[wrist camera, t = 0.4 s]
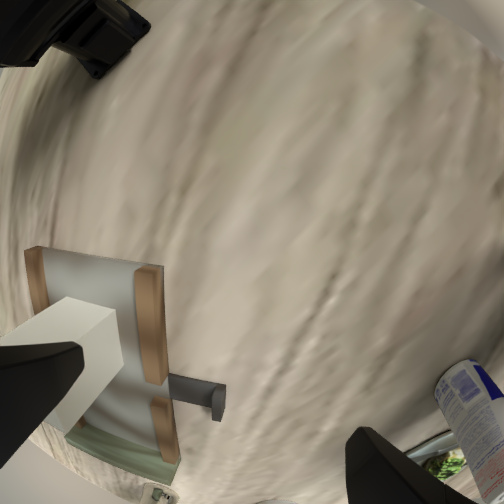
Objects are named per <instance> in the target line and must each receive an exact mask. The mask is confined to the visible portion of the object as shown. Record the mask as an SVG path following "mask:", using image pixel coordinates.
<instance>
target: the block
mask: <svg viewBox="0 0 504 504" xmlns="http://www.w3.org/2000/svg"><path fill="white" fill-rule="evenodd" d="M67 341H74V342H76V343H77V344H79V345H81V346H82V348H83V353H84V361H85V367H84V370H83V372H82V373H81V375H80V376H79V377H78V379H77V380H76V382H75V383H74V384H73V386H72V387H71V389H70V390H69V391H68V393H67V394H66V396H65V397H64V398H63V399H62V400H61V402H60V403H59V404H58V405H57V406H56V407H55V408H54V409H53V410H52V411H51V413H50V414H49V415H48V416H47V417H46V418H45V419H44V420H43V421H45V422H47V423H48V424H50V425H52V426H53V427H55V428H57V429H58V430H60V431H62V432H64V433H65V434H67V433H68V432H69V431H70V430H71V428H72V427H73V426H74V425H75V424H76V422H77V421H78V420H79V419H80V417H81V416H82V415H83V414H84V413H85V411H86V410H87V409H88V408H89V407H90V405H91V404H92V403H93V402H94V400H95V399H96V398H97V397H98V396H99V394H100V393H101V392H102V391H103V390H104V388H105V387H106V386H107V385H108V384H109V383H110V381H111V380H112V379H113V378H114V377H115V375H116V374H117V373H118V372H119V371H120V369H121V368H122V367H123V366H124V363H123V357H122V352H121V346H120V339H119V333H118V326H117V318H116V310H115V309H111V308H107V307H103V306H99V305H96V304H92V303H88V302H84V301H81V300H77V299H74V298H70V297H67V296H66V297H65V298H63V299H61V300H60V301H58V302H56V303H55V304H53V305H51V306H50V307H48V308H47V309H45V310H43V311H42V312H40V313H38V314H37V315H35V316H34V317H32V318H30V319H29V320H27V321H26V322H24V323H23V324H21V325H19V326H18V327H16V328H15V329H13V330H12V331H10V332H9V333H7V334H6V335H4V336H2V337H1V338H0V346H12V345H29V344H43V343H56V342H67Z"/></svg>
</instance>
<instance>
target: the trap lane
mask: <svg viewBox="0 0 504 504" xmlns="http://www.w3.org/2000/svg"><path fill="white" fill-rule="evenodd" d="M24 256H25V264H26V271H27V278H28V284H29V290H30V295H31V300H32V305H33V310H34V314H35V315H37V314H38V313H40V312H42V311H43V310H45V309H47V308H48V307H50V306H51V305H53V304H55V303H56V302H58V301H60V300H61V299H63V298H65V297H66V296H67V297H70V298H74V299H77V300H81V301H84V302H88V303H92V304H96V305H99V306H103V307H107V308H111V309H115V310H116V318H117V326H118V333H119V339H120V346H121V352H122V357H123V363H124V366H123V367H122V368H121V369H120V371H119V372H118V373H117V374H116V375H115V377H114V378H113V379H112V380H111V381H110V383H109V384H108V385H107V386H106V387H105V388H104V390H103V391H102V392H101V393H100V394H99V396H98V397H97V398H96V399H95V400H94V402H93V403H92V404H91V405H90V407H89V408H88V409H87V410H86V411H85V413H84V414H83V415H82V416H81V417H80V419H79V420H78V421H77V422H76V424H75V425H74V426H73V427H72V428H71V430H70V431H69V432H68V433H67V434H66V435H65V436H64V437H65V439H66V441H67V442H68V443H69V444H70V445H72V446H74V447H76V448H78V449H80V450H82V451H84V452H86V453H88V454H90V455H92V456H94V457H96V458H98V459H100V460H102V461H104V462H106V463H109V464H111V465H113V466H116V467H118V468H120V469H123V470H125V471H128V472H130V473H133V474H136V475H138V476H141V477H144V478H147V479H150V480H153V481H156V482H159V483H162V484H165V485H168V486H171V483H172V481H173V478H174V476H175V473H176V471H177V468H178V466H179V463H180V461H181V456H180V450H179V444H178V438H177V432H176V425H175V418H174V411H173V403H172V399H175V400H179V401H183V402H187V403H192V404H196V405H201V406H206V407H211V408H212V420H214V421H219V422H221V419H222V416H223V413H224V409H225V399H226V385H224V384H219V383H213V382H208V381H203V380H198V379H193V378H188V377H184V376H179V375H175V374H171V373H169V366H168V354H167V340H166V324H165V302H164V266H160V265H153V264H146V263H139V262H132V261H126V260H119V259H113V258H107V257H100V256H94V255H88V254H82V253H76V252H70V251H64V250H58V249H53V248H47V247H41V246H35V247H32V248H30V249H27V250H24Z"/></svg>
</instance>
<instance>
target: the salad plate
mask: <svg viewBox="0 0 504 504" xmlns="http://www.w3.org/2000/svg"><path fill="white" fill-rule="evenodd" d="M404 454H405V455H406V456H408V457H409V458H410V459H412V460H413V461H414V462H416V463H417V464H418V465H420V466H421V467H422V468H424V469H425V470H426V471H428V472H429V473H431V474H432V475H433V476H435V477H436V478H438V479H439V480H440V481H445V480H446V479H448V478H450V477H452V476H453V475H455V474H457V473H458V472H460V471H461V470H462V469H464V468H465V467H466V466H467V465H468V463H467V461H466V459H465V457H464V455H463V452H462V450H461V448H460V446H459V444H458V442H457V440H456V438H455V436H454V434H453V432H452V431H449V432H446V433H444V434H441V435H439V436H437V437H435V438H433V439H431V440H429V441H428V442H426V443H424V444H422V445H420V446H418V447H416V448H414V449H412V450H410V451H408V452H406V453H404Z"/></svg>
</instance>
